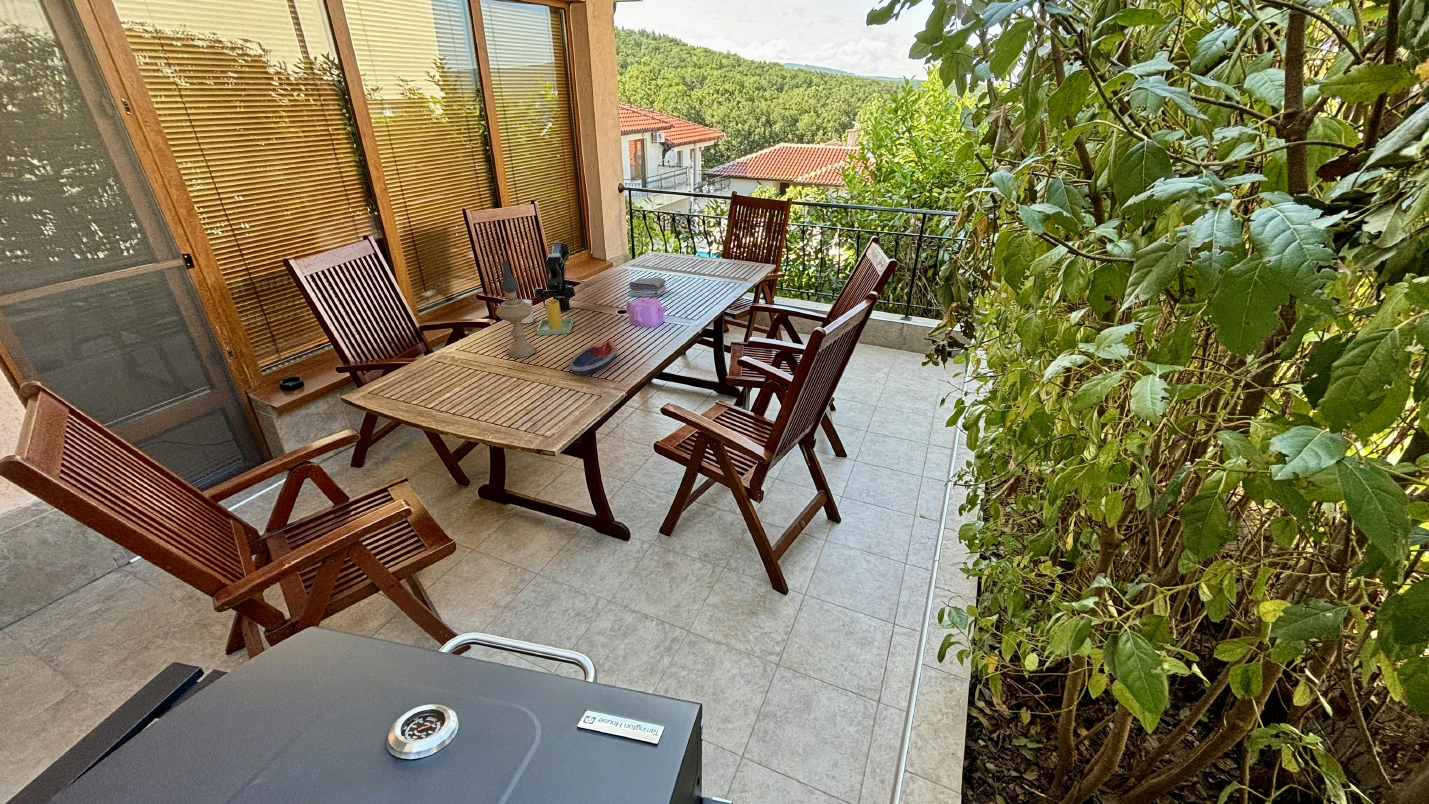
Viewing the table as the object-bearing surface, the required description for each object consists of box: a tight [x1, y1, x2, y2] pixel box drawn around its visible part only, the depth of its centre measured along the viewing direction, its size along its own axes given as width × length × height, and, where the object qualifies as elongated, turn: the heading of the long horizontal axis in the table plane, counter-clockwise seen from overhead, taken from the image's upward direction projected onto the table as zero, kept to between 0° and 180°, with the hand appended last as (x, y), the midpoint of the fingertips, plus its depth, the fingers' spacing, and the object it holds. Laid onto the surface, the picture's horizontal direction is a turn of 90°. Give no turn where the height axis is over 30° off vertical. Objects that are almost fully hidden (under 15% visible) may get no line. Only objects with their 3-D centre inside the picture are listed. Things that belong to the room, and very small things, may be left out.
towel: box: [628, 277, 667, 298], centre depth 336 cm, size 15×18×8 cm
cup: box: [544, 299, 563, 329], centre depth 285 cm, size 7×7×13 cm
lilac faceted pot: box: [625, 297, 668, 328], centre depth 291 cm, size 17×17×12 cm
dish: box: [568, 340, 618, 376], centre depth 248 cm, size 16×31×5 cm, turn 160°
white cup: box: [521, 299, 535, 324], centre depth 297 cm, size 8×8×10 cm
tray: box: [536, 317, 574, 336], centre depth 288 cm, size 15×15×2 cm
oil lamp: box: [495, 260, 536, 358], centre depth 253 cm, size 15×15×40 cm
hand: (555, 307), depth 290 cm, fingers open, 9 cm apart
